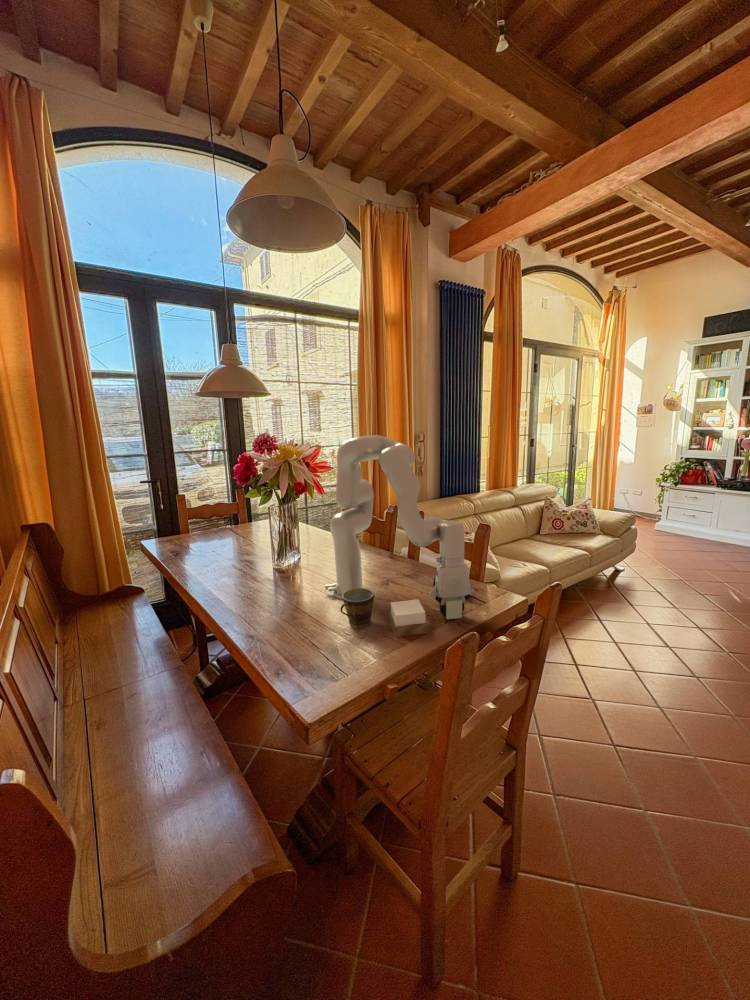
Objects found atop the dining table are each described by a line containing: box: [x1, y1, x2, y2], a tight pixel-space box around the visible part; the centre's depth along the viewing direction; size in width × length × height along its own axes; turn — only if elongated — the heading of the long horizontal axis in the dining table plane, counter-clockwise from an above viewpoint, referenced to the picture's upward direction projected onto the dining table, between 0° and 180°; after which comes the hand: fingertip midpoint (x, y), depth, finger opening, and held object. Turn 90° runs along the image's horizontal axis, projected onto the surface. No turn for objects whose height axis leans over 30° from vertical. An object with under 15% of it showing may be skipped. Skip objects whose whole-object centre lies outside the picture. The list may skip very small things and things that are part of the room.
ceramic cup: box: [340, 588, 375, 630], centre depth 127 cm, size 13×10×10 cm
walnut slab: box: [388, 610, 432, 638], centre depth 126 cm, size 11×11×4 cm
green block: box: [445, 597, 463, 620], centre depth 130 cm, size 5×5×6 cm
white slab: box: [390, 598, 426, 626], centre depth 125 cm, size 9×9×4 cm
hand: (451, 613), depth 130 cm, fingers closed on green block, 5 cm apart
